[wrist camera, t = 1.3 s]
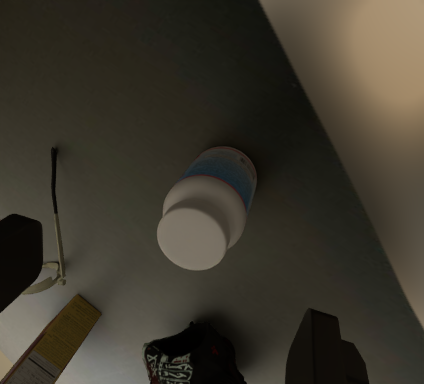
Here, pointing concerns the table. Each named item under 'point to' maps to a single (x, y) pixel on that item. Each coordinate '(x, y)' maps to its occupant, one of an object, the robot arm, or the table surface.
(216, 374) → the crumpled patterned cloth
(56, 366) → the candy box
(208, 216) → the pill bottle
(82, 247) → the table surface
